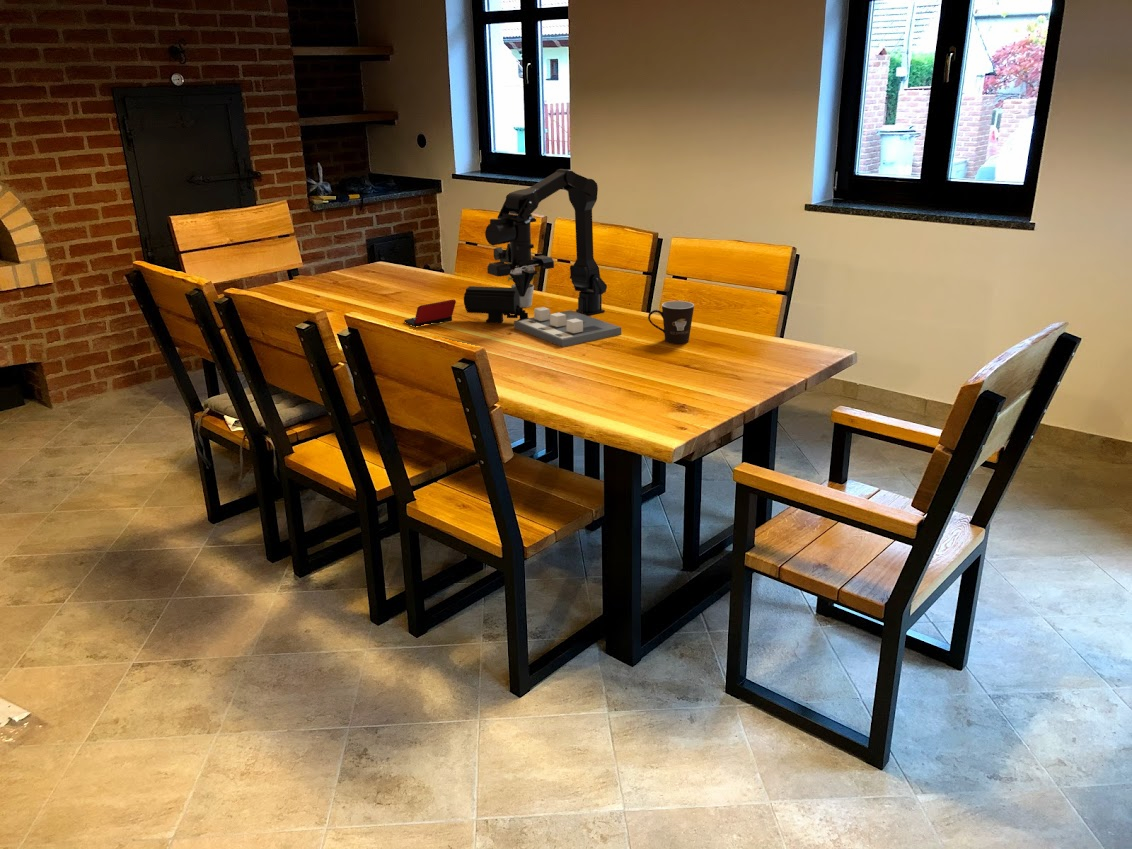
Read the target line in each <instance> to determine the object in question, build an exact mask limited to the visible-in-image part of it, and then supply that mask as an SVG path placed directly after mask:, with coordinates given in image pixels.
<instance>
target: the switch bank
mask: <svg viewBox="0 0 1132 849" xmlns="http://www.w3.org/2000/svg"><path fill="white" fill-rule="evenodd" d="M560 313H562V314H565V315H566V325H565V326H560V327H555V326H552V325H550V319H549V320H544V321H539V320H536V319H534V316H533V317H529V318H528V319H523V320H519V319H518V320H514V321H513V325H514V326H513V328H514V329H515V330H519V331H521V332H523V333H527V334H529V335H531V336H533V337H536V338H538V339H541V340H544V341H546V342H549V343H551V344H554V345H556V346H559V347H562V348H565V347H569V346H574V345H579V344H585V343H588V342H592V341H597V340H602V339H605V338H610V337H616V336H620V334H621V335H622V326H620V325H619V326H618V325H616V324H613V323H610V322H607V321H604V320H601V319H599V318H598V319H597V318H596V317H592V316H590V315H587V314H584V313H581V312H578V311H576V310H572V309H569V310H565V311H560ZM575 318H576V319H579V320H582V321H583V332H578V333H571V332H568V331H567V320H570V319H575Z"/></svg>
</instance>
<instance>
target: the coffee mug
mask: <svg viewBox="0 0 1132 849" xmlns="http://www.w3.org/2000/svg"><path fill="white" fill-rule="evenodd" d="M661 309H662V311H661V310H658V309H655V310H651V311H650V312H649V313H648V316H647V319H648V321H649V323H650V324H651V325H652V326H653V327H654V328H656V329H658V330H660V331H661V332H663V336H664V341H665V343H667V344H671V345H685V344H688V343H689V341H690V335H691V329H692V322H693V316H694V310H695V304H694V302H693V303H692V302H690V301H684V300H669V301H666V302H665V301H664V302H663V303H662V304H661ZM655 313H657V314H659V315H660V316H661V318H662V322H663V328H662V327H660V326H658V325H656V324H655V323H653V321H652V320H651V315H653V314H655Z"/></svg>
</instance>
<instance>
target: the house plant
mask: <svg viewBox="0 0 1132 849" xmlns="http://www.w3.org/2000/svg"><path fill="white" fill-rule="evenodd" d="M505 263H506V264H511V263H508V262H505ZM516 267H518V266H516ZM538 276H539V277H540V275H537V274H536V275H534V277H533V279H532V280H531V282H533V280H534V278H536V277H538ZM507 277H508V279H507V282H509V281H512V282H513V283H514V284H512V285H511V286H510V288H517V287H516V285H515V282H514V281H513V279H512V277H511V276H510V275H507ZM534 289H535V285H534V284H532V283H530V284H529V287H528V289H527V291H526V293H525V296H524V297H521V296H520V307H522V308H530V307H531V306H532V303H533V295H534Z"/></svg>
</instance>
